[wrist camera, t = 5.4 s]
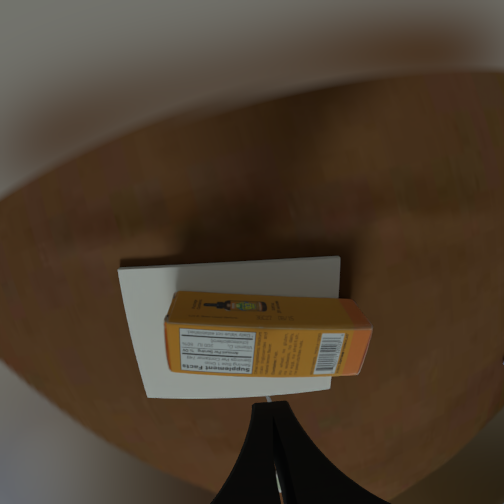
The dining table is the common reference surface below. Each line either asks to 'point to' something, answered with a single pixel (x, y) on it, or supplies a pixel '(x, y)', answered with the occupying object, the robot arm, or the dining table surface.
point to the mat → (217, 281)
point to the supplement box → (264, 335)
